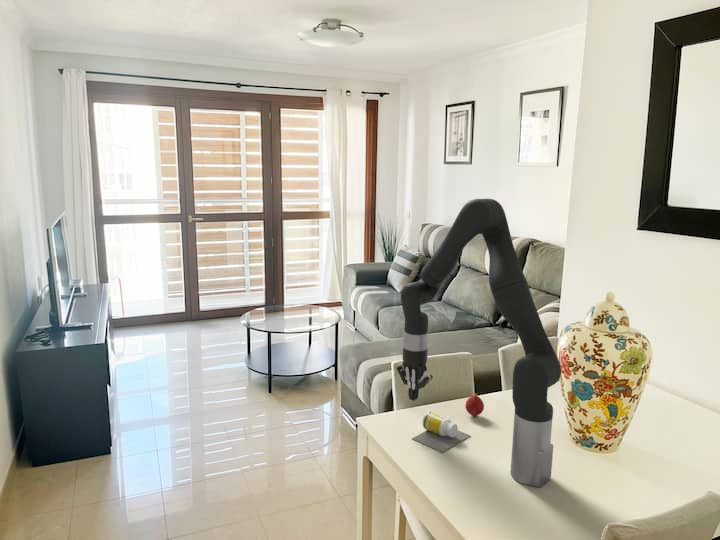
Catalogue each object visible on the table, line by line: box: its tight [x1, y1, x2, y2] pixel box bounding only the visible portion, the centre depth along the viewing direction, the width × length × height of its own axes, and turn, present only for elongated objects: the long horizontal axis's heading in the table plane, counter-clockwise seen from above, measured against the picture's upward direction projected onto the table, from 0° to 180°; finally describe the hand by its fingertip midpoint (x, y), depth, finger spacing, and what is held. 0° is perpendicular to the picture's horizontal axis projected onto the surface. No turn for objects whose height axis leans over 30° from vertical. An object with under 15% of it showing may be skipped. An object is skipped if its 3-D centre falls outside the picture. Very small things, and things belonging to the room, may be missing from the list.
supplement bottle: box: [422, 411, 459, 437], centre depth 158 cm, size 5×5×10 cm
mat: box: [411, 429, 471, 454], centre depth 156 cm, size 11×14×1 cm
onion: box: [465, 393, 485, 418], centre depth 169 cm, size 6×6×8 cm
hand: (413, 399), depth 162 cm, fingers closed
